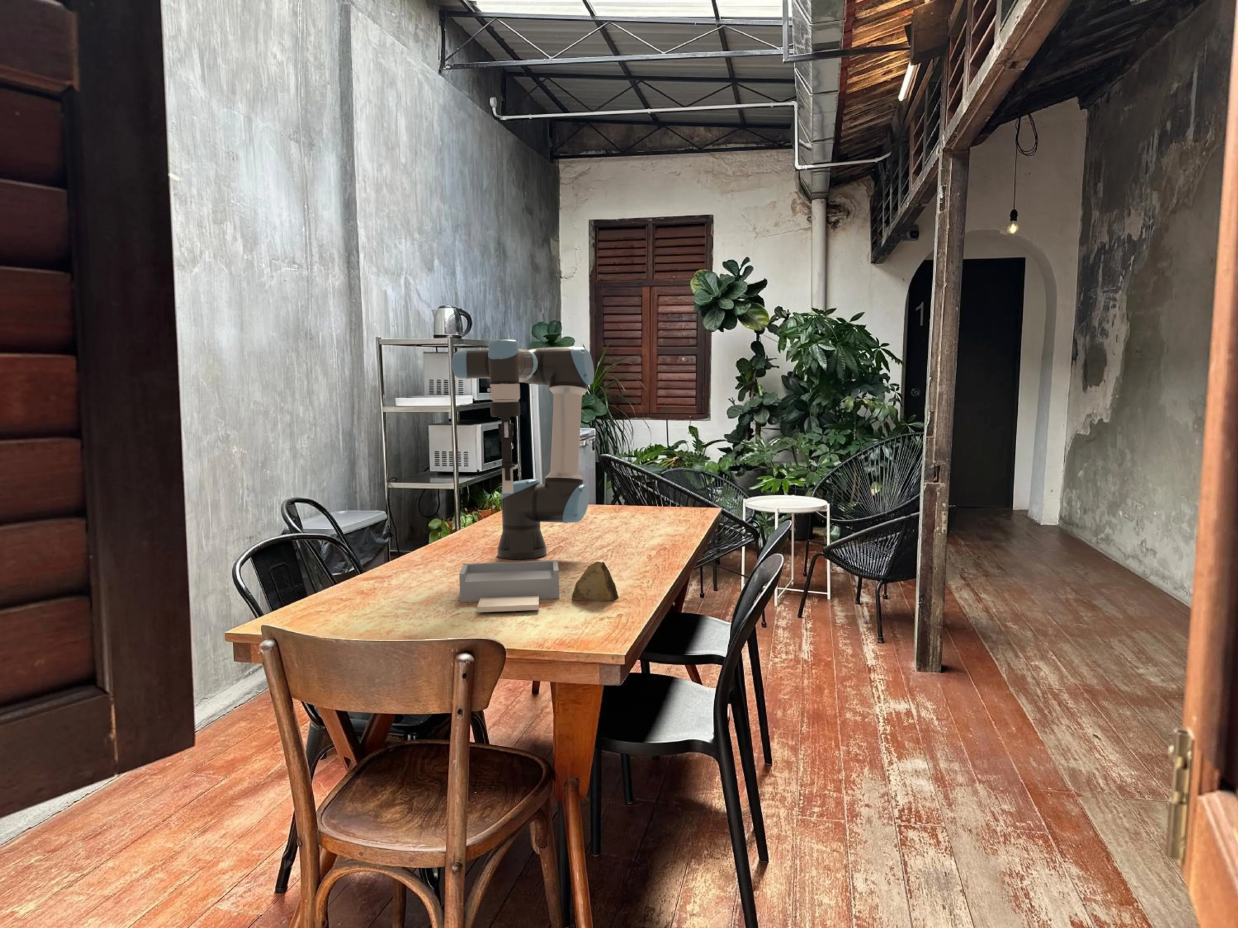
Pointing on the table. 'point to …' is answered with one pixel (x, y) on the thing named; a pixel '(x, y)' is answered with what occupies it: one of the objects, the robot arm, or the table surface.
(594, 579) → the rock
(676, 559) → the table surface
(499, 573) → the bed
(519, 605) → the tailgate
